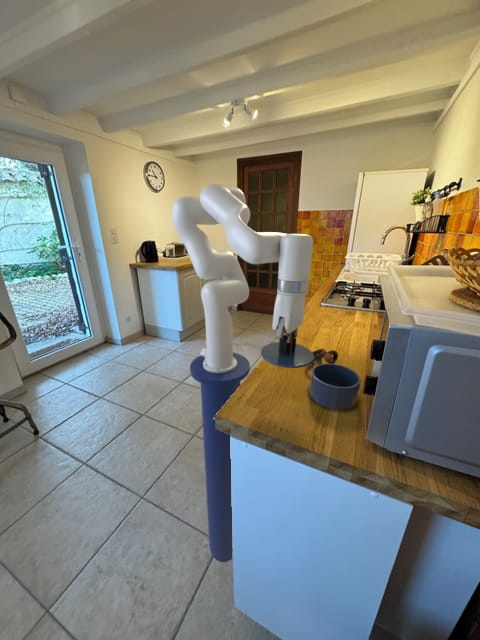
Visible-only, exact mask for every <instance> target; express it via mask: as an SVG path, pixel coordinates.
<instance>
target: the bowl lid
mask: <svg viewBox="0 0 480 640" xmlns="http://www.w3.org/2000/svg"><path fill="white" fill-rule="evenodd" d="M279 342H280V341H275V342H271V343H267V344H265V345H264V346H262V348H261V349H260V356H261V358H262V359H263V360H264V361H265V362H266V363H269V364H271V365H274V366H276V367H280V368H285V369H300V368H304V367H307V366H310V364H311V363H312V361H313V359H314V355H313V353H312V352H313V351H312V350H311V349H310V348H308V347H306V346H304V345H302V344H299V343H296V348H295V351H294V352H292V344H291V355H290V356H289V357H288V356H285V355H281V354H279ZM290 342H291V343H292V342H293V338H292V337H291V340H290Z"/></svg>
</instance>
